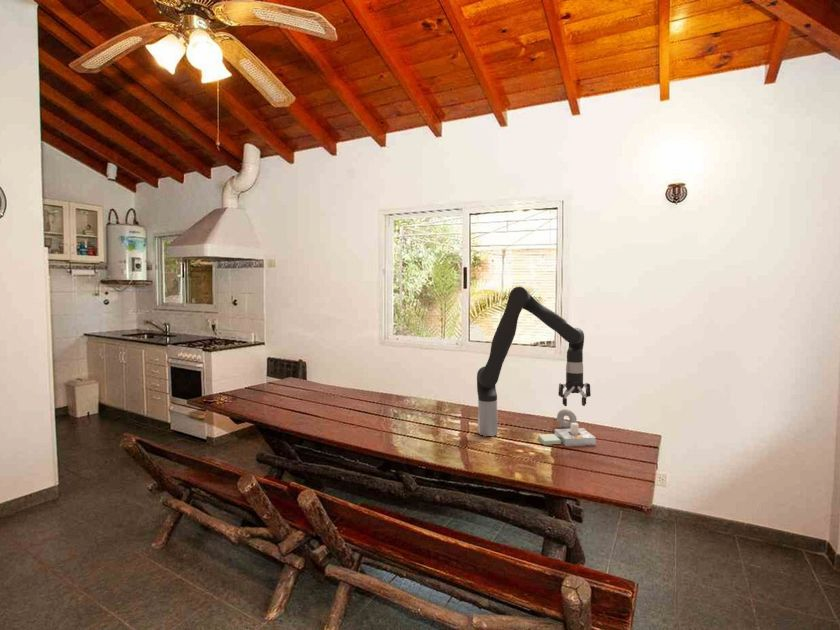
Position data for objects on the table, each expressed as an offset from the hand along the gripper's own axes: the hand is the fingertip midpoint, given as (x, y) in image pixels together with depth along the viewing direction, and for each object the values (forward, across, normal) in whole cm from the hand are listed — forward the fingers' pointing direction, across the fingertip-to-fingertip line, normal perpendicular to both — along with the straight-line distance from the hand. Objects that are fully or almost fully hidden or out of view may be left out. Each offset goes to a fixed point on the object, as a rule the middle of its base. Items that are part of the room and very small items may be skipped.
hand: (574, 405), depth 211 cm
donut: (+17, +3, +18) cm, 25 cm away
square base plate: (+17, -12, 0) cm, 20 cm away
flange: (+17, 0, 0) cm, 17 cm away
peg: (+17, 0, 0) cm, 17 cm away
